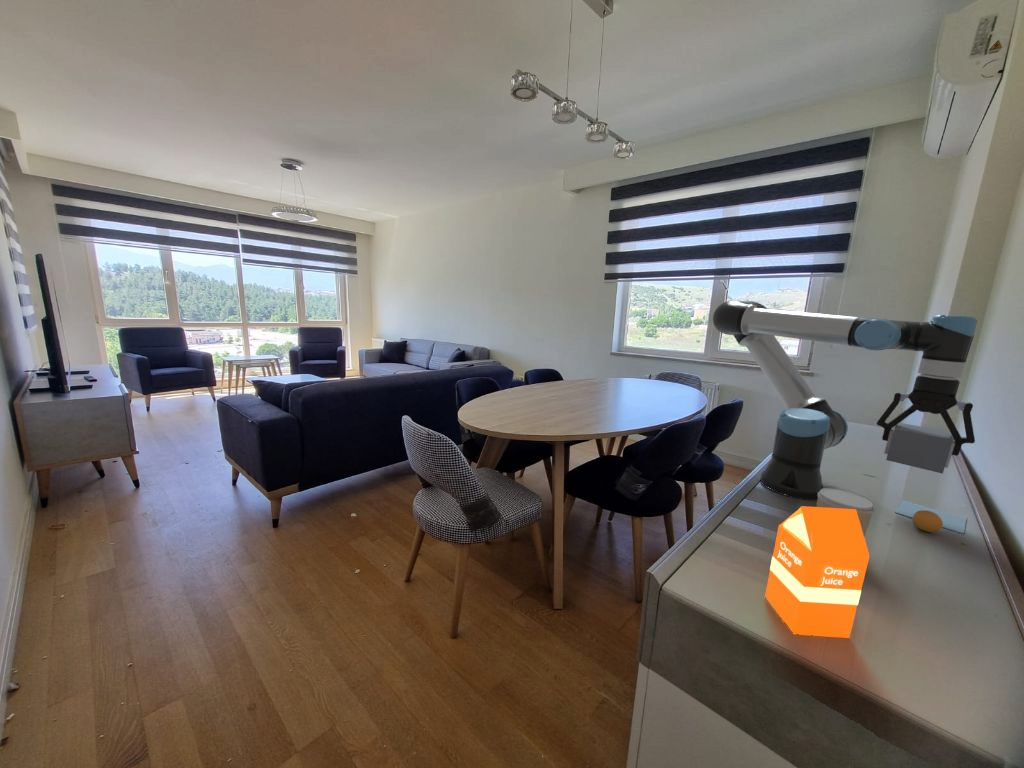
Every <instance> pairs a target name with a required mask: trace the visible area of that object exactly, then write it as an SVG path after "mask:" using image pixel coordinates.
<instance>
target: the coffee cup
mask: <svg viewBox="0 0 1024 768" xmlns="http://www.w3.org/2000/svg"><path fill="white" fill-rule="evenodd" d="M817 496H818V499H816V501H817V502H816V507H823V508H840V509H856V511H857V515H858V518H859V522H860V525H861V528H862V532H863V535H864V537H865V535H866V534H867V532H868V531H867V530H868V528H869V524H870V522H871V518H872V515H873V514H874V512H875V506H874V503H873V502H871V501H870V500H869V499H867V498H865V497H863V496H862V495H859V494H857V493H854V492H851V491H847V490H843V489H837V488H831V487H829V488H828V487H827V488H824V489H821V490H820V492H818V495H817Z"/></svg>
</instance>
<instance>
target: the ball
mask: <svg viewBox="0 0 1024 768" xmlns="http://www.w3.org/2000/svg"><path fill="white" fill-rule="evenodd" d="M912 522H913V524H914V526H916V528H918V529H919V530H921V531H924V532H928V533H935V532H939V531H940V530H941V529H942V526H943V522H942V519H941V518H940V517H939V516H938V515H937V514H935V513H933V512H931V511H927V510H921V511H918V512H916V513H915V514H914V515H913V518H912Z"/></svg>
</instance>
